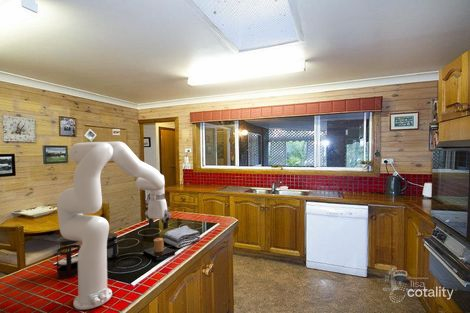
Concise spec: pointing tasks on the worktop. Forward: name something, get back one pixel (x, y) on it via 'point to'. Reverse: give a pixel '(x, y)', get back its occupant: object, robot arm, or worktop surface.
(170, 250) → the panel
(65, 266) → the french press
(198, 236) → the towel
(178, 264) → the worktop surface
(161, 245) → the oak knob
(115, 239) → the supplement container
